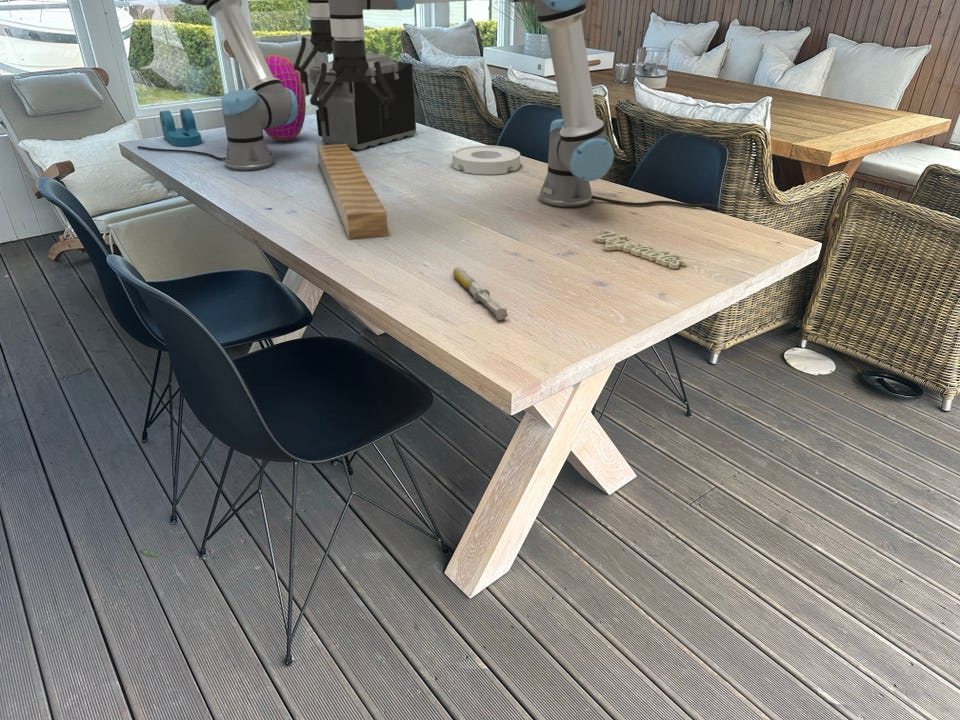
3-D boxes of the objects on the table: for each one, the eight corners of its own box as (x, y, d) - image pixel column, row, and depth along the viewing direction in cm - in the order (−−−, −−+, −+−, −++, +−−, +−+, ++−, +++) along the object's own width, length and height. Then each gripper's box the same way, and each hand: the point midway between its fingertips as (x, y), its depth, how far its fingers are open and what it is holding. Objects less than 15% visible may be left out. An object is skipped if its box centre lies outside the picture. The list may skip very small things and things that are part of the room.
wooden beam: (387, 235, 176) (386, 211, 173) (349, 239, 174) (347, 214, 170) (348, 162, 237) (346, 143, 234) (319, 164, 235) (317, 145, 232)
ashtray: (454, 156, 246) (454, 144, 244) (519, 157, 245) (519, 146, 243) (450, 173, 226) (450, 161, 224) (520, 175, 225) (521, 162, 223)
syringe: (449, 274, 155) (449, 263, 153) (465, 272, 156) (464, 260, 154) (490, 323, 135) (491, 310, 133) (508, 319, 136) (508, 307, 134)
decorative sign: (581, 237, 173) (606, 228, 179) (581, 241, 174) (606, 232, 179) (668, 269, 156) (693, 258, 162) (668, 273, 157) (693, 262, 162)
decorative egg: (293, 132, 276) (283, 50, 261) (319, 140, 264) (310, 56, 249) (249, 139, 265) (236, 54, 250) (273, 148, 253) (261, 60, 238)
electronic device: (379, 127, 286) (374, 48, 270) (420, 134, 275) (417, 53, 259) (313, 143, 260) (303, 57, 245) (355, 152, 249) (347, 63, 234)
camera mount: (164, 137, 265) (157, 109, 260) (192, 134, 270) (186, 106, 265) (176, 147, 253) (170, 117, 247) (205, 143, 258) (200, 114, 252)
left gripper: (362, 17, 213) (367, 89, 224) (279, 18, 206) (288, 92, 217) (365, 19, 207) (370, 93, 217) (280, 20, 200) (289, 96, 211)
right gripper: (398, 36, 165) (402, 127, 175) (291, 38, 158) (302, 132, 169) (404, 39, 158) (408, 134, 169) (293, 41, 152) (305, 139, 163)
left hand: (329, 93), depth 217 cm, fingers open, 13 cm apart
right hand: (355, 133), depth 169 cm, fingers open, 13 cm apart
